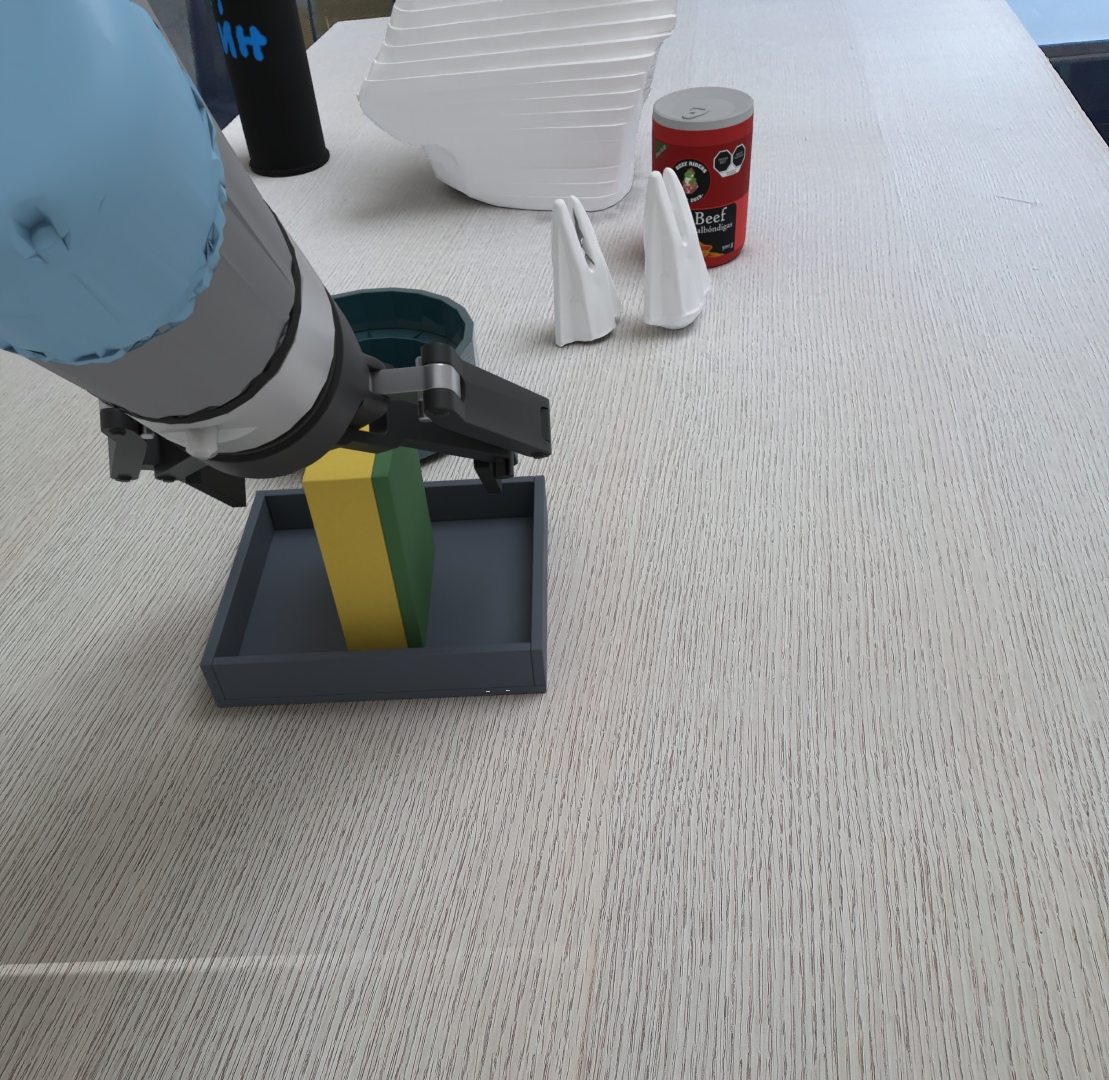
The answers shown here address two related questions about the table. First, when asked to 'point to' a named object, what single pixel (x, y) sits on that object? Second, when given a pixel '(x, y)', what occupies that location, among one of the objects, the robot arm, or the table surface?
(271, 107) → the aerosol can
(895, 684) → the table surface
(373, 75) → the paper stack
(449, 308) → the bowl
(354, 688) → the tray
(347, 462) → the sponge
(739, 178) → the canned food
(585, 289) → the shaker set
